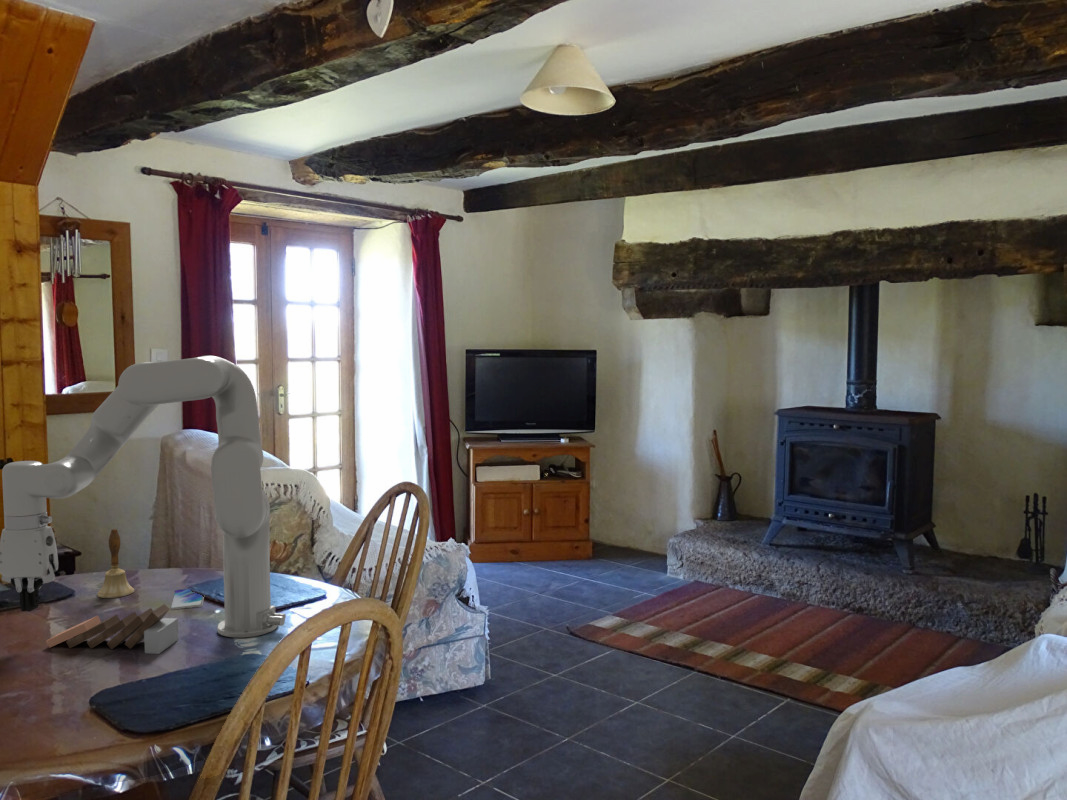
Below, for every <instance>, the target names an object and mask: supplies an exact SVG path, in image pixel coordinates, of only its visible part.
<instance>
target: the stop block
mask: <svg viewBox="0 0 1067 800" xmlns="http://www.w3.org/2000/svg"><path fill="white" fill-rule="evenodd" d="M178 640H179V619H178V618H177V617H173V618H172V617H163V618H162V619H161V620H160V621H159V622H157V623H156V624H154V625H153V626H151V627H150V628H148V629H147V630H146V631H144V640H143V641H144V654H158V655H159V654H161V653H162V652H164V651H165V650H166V649H168V648H169V647H170V646H171V645H173V644H175V643H176V642H178Z"/></svg>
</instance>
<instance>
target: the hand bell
mask: <svg viewBox="0 0 1067 800" xmlns="http://www.w3.org/2000/svg"><path fill="white" fill-rule="evenodd" d="M108 548H109V552H110V554H111V559H110V562H111V563H110V569H109V570H108V571H106V572H104V573H105V574H104V580H103V584H102V587H101V589H100V590H98V591H97V593H96V596H97V598H101V599H102V598H103V599H115V598H122V597H126V596H128V595H131V594H133V593H134V592H135V588H134V587H132V586H131V585H130V583H129V581H128V580H127V576H126V575H127V574H126V571H125V570H124V569H121V568H120V565H119V552H120V549H121V537H120V534H119V531H118V528H111V531H110V534H109V538H108Z"/></svg>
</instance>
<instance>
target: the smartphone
mask: <svg viewBox="0 0 1067 800" xmlns="http://www.w3.org/2000/svg"><path fill="white" fill-rule="evenodd" d="M192 588H193V587H190V588H182V589H181V588H180V589H176V590H174V591H173V594H172V599H171V602H170V606H169V609H170V610H171V611H173V610H174V611H175V610H184V609H195V608H202V607H203V605H204V599H205V596H204V597H203V596H202V595H200V594H197V593H195V592H192V591H191V589H192ZM170 610H169V611H170Z"/></svg>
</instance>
